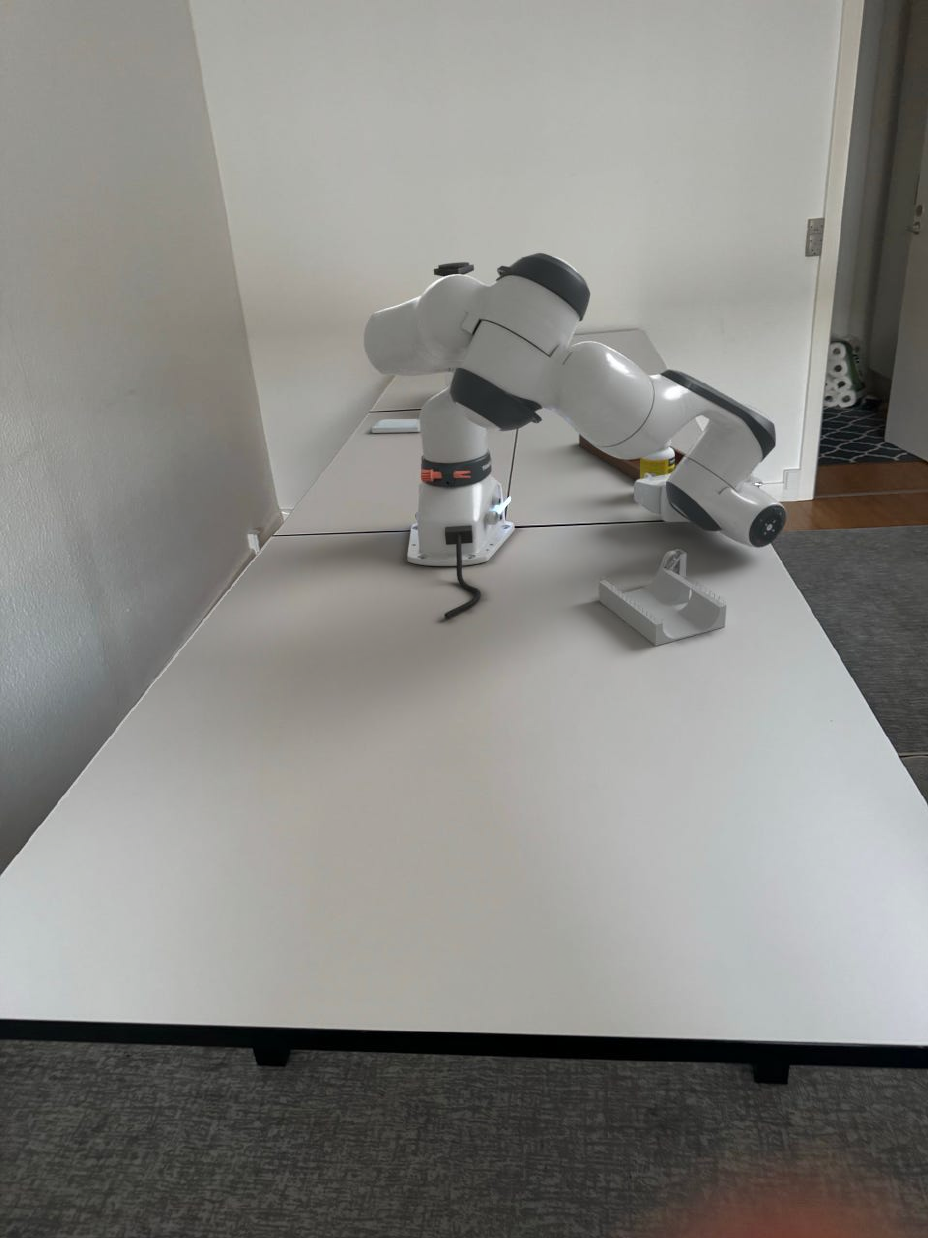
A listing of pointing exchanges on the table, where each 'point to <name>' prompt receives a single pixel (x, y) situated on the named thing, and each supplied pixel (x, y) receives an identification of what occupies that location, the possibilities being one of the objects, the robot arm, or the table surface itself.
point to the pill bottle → (658, 461)
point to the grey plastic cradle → (666, 604)
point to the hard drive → (396, 426)
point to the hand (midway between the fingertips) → (671, 472)
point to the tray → (622, 464)
